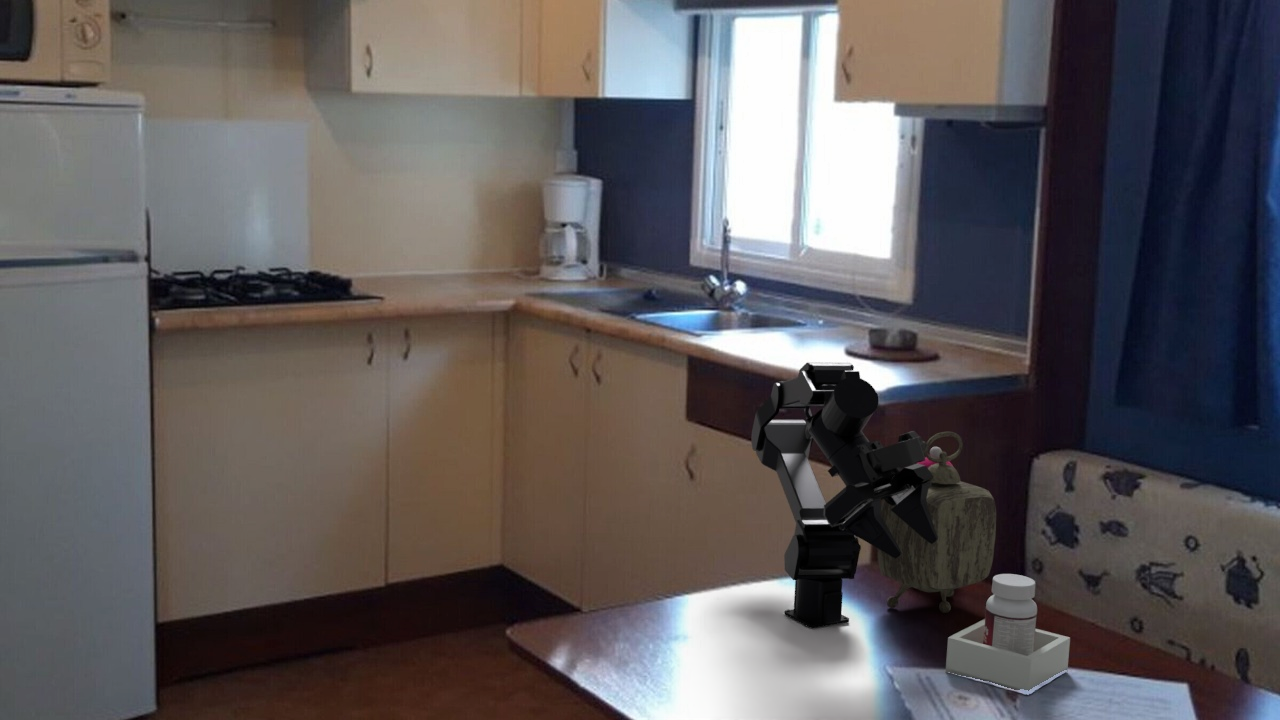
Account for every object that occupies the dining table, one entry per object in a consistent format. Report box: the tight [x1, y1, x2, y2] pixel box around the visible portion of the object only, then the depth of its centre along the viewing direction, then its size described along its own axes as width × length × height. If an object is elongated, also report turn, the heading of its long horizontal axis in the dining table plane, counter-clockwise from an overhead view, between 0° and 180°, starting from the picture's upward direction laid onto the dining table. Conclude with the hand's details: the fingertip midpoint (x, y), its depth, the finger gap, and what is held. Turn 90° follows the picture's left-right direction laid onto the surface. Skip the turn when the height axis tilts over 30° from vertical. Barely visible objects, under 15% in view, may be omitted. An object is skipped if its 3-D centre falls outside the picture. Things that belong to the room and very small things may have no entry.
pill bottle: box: [983, 573, 1038, 656], centre depth 193 cm, size 6×6×11 cm
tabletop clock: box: [877, 431, 997, 614], centre depth 215 cm, size 14×9×25 cm, turn 124°
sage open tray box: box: [945, 618, 1071, 691], centre depth 193 cm, size 11×11×4 cm
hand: (917, 549), depth 197 cm, fingers open, 9 cm apart
